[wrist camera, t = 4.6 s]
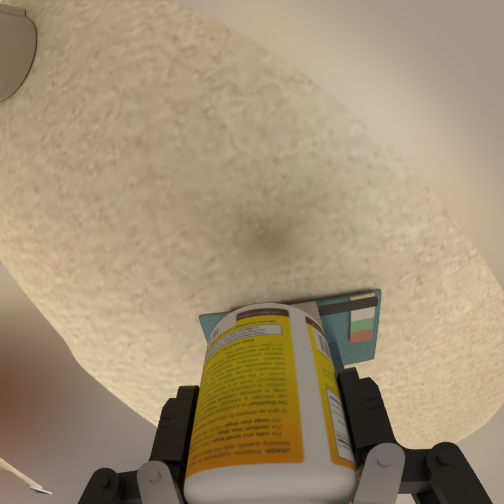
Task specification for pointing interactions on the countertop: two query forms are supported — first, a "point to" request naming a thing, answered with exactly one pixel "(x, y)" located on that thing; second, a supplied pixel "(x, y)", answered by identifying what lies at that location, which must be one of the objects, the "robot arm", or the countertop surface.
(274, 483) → the supplement bottle
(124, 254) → the countertop surface
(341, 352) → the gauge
